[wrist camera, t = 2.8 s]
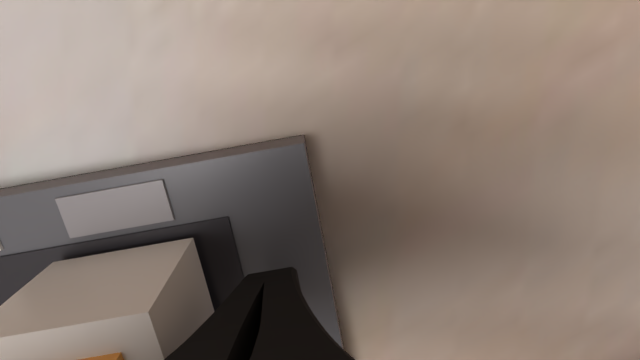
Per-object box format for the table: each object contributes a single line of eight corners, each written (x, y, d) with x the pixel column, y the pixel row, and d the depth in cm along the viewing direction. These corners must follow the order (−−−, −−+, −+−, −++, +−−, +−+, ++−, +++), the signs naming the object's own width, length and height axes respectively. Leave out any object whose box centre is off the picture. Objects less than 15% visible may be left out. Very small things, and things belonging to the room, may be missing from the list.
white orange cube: (193, 237, 12) (144, 318, 8) (227, 355, 13) (197, 471, 9) (53, 262, 12) (-57, 353, 8) (99, 377, 13) (21, 500, 9)
